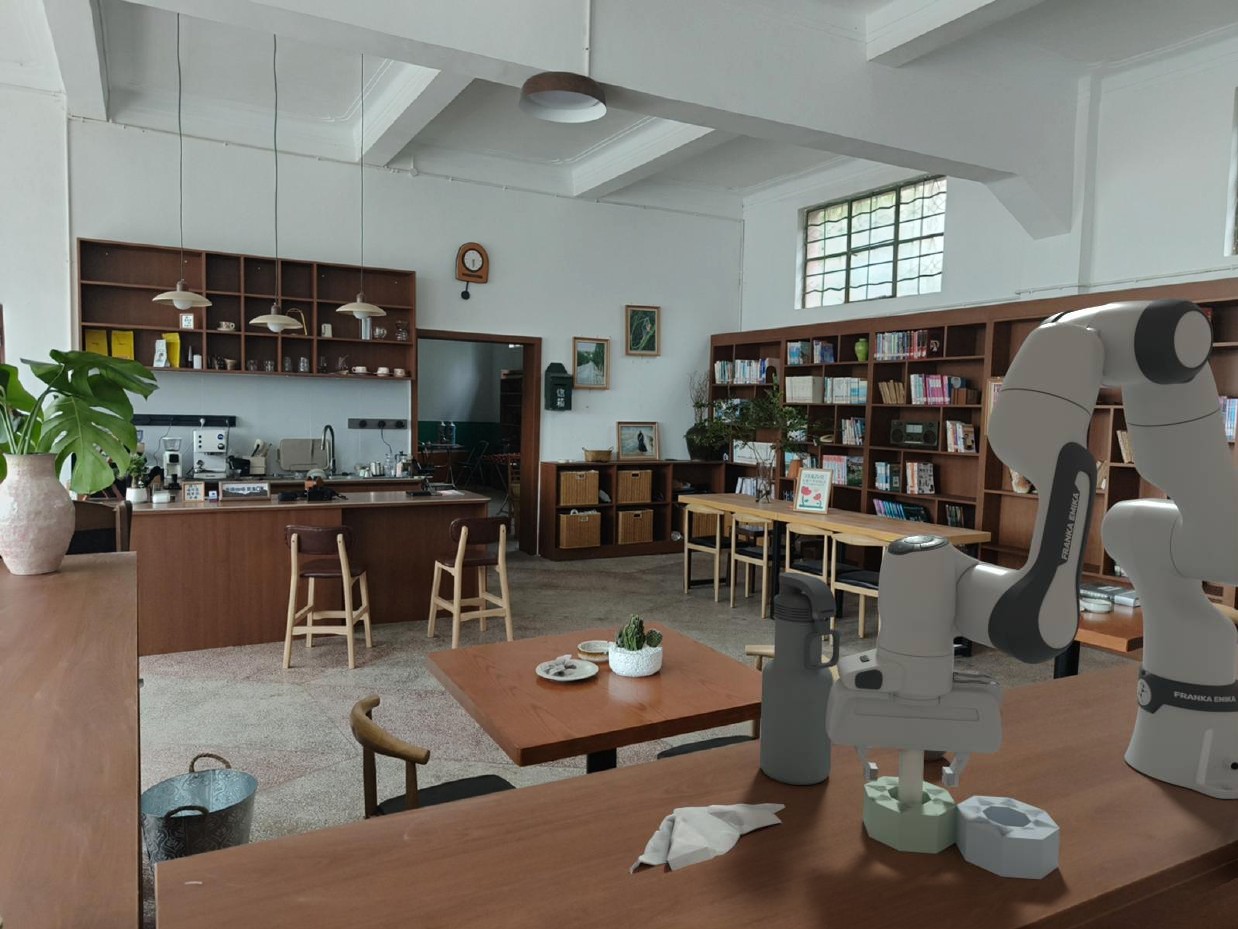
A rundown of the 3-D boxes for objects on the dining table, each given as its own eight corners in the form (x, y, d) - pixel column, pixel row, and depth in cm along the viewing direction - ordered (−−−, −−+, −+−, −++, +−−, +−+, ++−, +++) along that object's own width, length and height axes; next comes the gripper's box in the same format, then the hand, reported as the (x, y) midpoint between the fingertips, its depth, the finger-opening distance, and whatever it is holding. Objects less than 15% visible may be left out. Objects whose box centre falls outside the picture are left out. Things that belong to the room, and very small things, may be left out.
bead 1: (939, 814, 105) (940, 779, 105) (962, 855, 95) (964, 817, 95) (858, 808, 106) (859, 774, 106) (873, 849, 96) (874, 811, 96)
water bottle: (847, 778, 115) (853, 580, 114) (795, 794, 110) (801, 587, 109) (795, 753, 124) (800, 568, 122) (745, 766, 119) (750, 573, 117)
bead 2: (1033, 835, 100) (1035, 799, 100) (1069, 881, 90) (1071, 841, 90) (947, 829, 101) (949, 794, 101) (973, 874, 91) (975, 835, 91)
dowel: (917, 826, 102) (921, 731, 101) (923, 837, 99) (927, 740, 99) (894, 824, 102) (897, 730, 102) (899, 836, 100) (903, 738, 99)
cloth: (761, 793, 112) (761, 776, 112) (830, 840, 100) (830, 822, 100) (586, 835, 100) (587, 816, 100) (640, 894, 88) (641, 873, 88)
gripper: (994, 666, 102) (990, 776, 103) (825, 658, 104) (822, 766, 105) (1013, 683, 95) (1008, 799, 96) (832, 674, 98) (829, 788, 99)
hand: (909, 782), depth 101 cm, fingers open, 8 cm apart
